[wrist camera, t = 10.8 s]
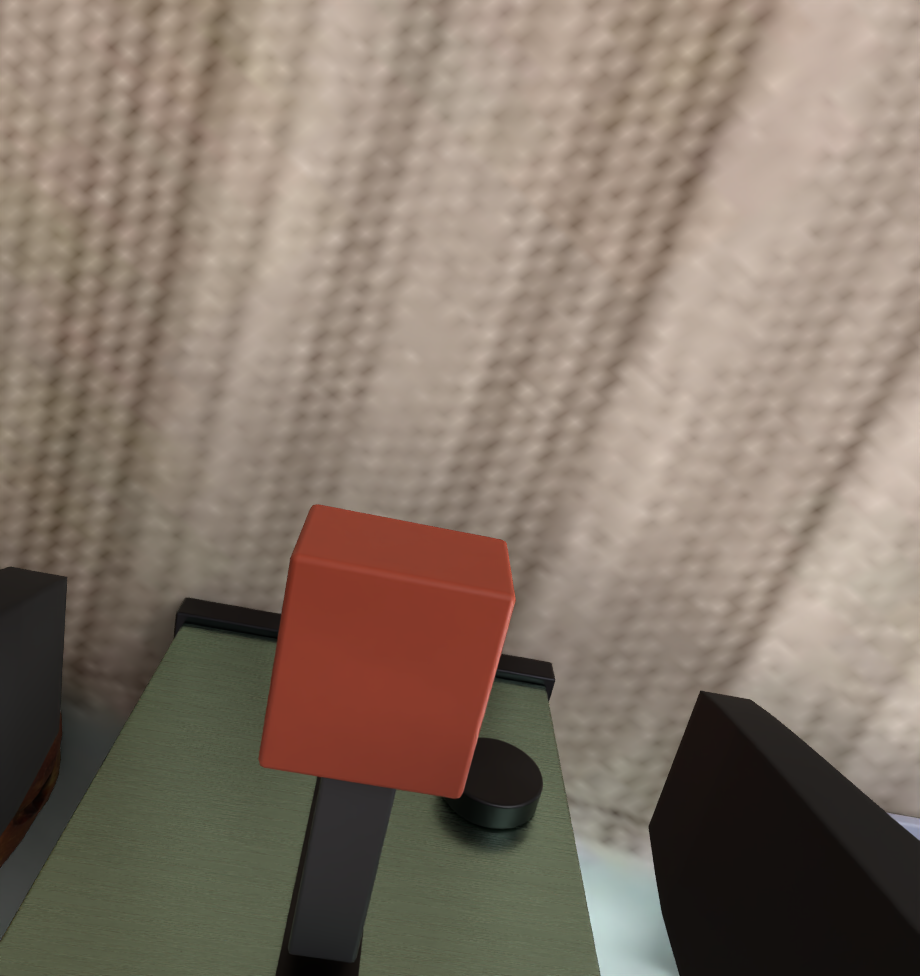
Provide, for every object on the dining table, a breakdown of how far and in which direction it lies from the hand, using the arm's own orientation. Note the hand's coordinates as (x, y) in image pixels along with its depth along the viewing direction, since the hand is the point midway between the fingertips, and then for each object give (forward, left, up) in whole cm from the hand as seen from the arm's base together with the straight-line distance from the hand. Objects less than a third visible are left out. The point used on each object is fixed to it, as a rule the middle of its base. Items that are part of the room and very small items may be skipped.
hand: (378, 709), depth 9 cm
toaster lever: (0, +2, -2) cm, 3 cm away
